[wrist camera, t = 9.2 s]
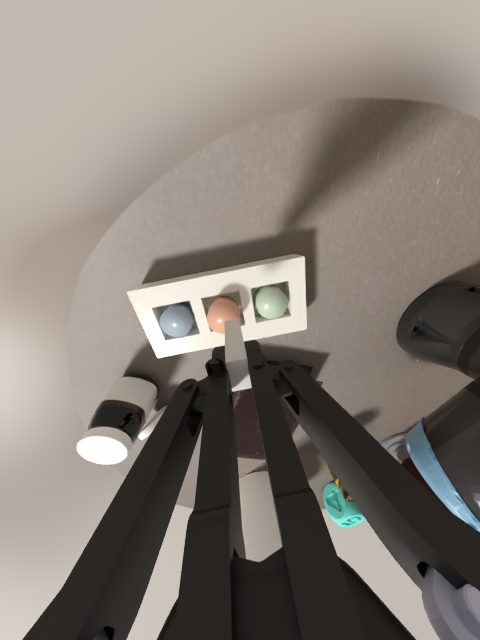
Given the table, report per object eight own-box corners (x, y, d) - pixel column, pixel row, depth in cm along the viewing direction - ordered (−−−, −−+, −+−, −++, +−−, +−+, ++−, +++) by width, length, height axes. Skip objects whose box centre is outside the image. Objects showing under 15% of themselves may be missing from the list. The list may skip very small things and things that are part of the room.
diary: (208, 433, 44) (205, 455, 40) (228, 351, 35) (228, 368, 30) (278, 440, 47) (283, 462, 42) (315, 366, 37) (327, 383, 33)
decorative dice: (318, 489, 59) (331, 525, 51) (335, 477, 56) (351, 513, 49) (336, 494, 61) (350, 528, 54) (352, 482, 58) (370, 517, 51)
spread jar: (123, 365, 34) (75, 423, 23) (181, 381, 36) (163, 439, 25) (113, 407, 38) (69, 473, 27) (167, 419, 40) (145, 483, 30)
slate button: (190, 298, 27) (186, 306, 24) (198, 323, 29) (195, 333, 26) (162, 304, 27) (154, 312, 24) (172, 329, 29) (166, 339, 26)
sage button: (280, 281, 27) (286, 286, 24) (282, 307, 29) (289, 315, 26) (251, 286, 27) (254, 292, 24) (255, 312, 29) (259, 321, 26)
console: (293, 253, 27) (304, 256, 23) (296, 317, 32) (306, 329, 28) (141, 284, 28) (126, 291, 23) (166, 343, 32) (157, 358, 28)
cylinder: (220, 490, 54) (215, 709, 29) (262, 464, 50) (298, 694, 25) (258, 505, 60) (281, 699, 35) (298, 483, 56) (357, 686, 31)
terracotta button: (235, 293, 25) (237, 300, 22) (241, 320, 27) (243, 330, 24) (205, 299, 26) (202, 307, 22) (213, 325, 27) (211, 336, 24)
